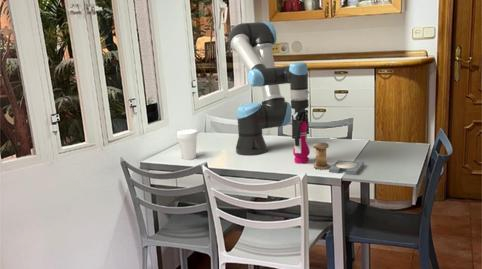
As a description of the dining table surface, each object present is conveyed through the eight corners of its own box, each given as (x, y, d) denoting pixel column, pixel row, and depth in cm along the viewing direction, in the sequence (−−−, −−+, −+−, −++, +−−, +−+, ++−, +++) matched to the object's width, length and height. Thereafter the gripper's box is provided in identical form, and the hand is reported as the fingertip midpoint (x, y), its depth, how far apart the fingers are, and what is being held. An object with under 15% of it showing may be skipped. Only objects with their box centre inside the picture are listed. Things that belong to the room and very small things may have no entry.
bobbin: (311, 169, 193) (310, 145, 191) (316, 164, 199) (315, 142, 196) (326, 170, 190) (325, 146, 188) (331, 166, 196) (330, 143, 193)
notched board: (328, 172, 187) (328, 168, 187) (338, 163, 198) (338, 159, 198) (355, 174, 182) (355, 170, 182) (363, 165, 193) (363, 161, 193)
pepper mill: (311, 159, 207) (310, 115, 202) (308, 164, 200) (306, 118, 196) (295, 159, 209) (293, 115, 205) (291, 163, 203) (290, 118, 198)
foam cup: (175, 160, 220) (173, 133, 217) (185, 155, 228) (182, 129, 226) (193, 161, 216) (191, 134, 214) (202, 155, 225) (200, 129, 222)
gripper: (299, 102, 188) (301, 157, 193) (315, 95, 205) (316, 145, 210) (282, 102, 192) (284, 156, 197) (299, 95, 209) (301, 144, 214)
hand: (301, 150), depth 204 cm, fingers closed on pepper mill, 7 cm apart
